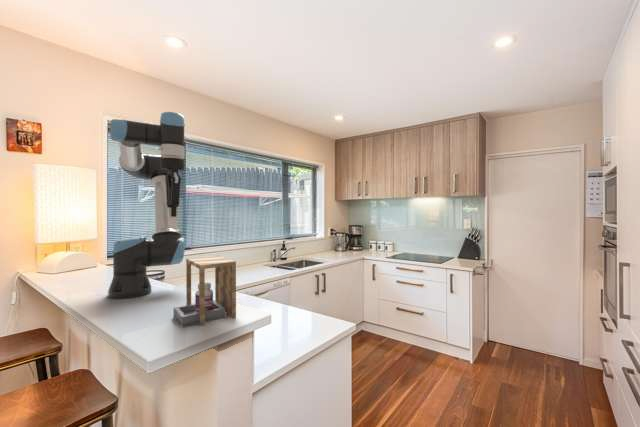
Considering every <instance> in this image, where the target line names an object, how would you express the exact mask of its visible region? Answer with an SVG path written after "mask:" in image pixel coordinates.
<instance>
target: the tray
mask: <svg viewBox="0 0 640 427" xmlns="http://www.w3.org/2000/svg"><path fill="white" fill-rule="evenodd" d="M173 318H174V319H175V320H176V322H177V323H178V324H179V326H180V327H181V328H185V327H189V326H194V325H199V312H198V313H195V303H191V304H190V305H187V304H185V305H181V306H175V307H173ZM225 318H226V312H225V308H224V307H223V306H221V305H220V304H219V303H217V302H216V301H215V299H213V310H208V311H205V323H206V322H211V321H215V320H221V319H225Z"/></svg>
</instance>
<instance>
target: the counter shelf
mask: <svg viewBox="0 0 640 427" xmlns="http://www.w3.org/2000/svg"><path fill="white" fill-rule="evenodd" d="M185 262H186V264H185V266H186V268H185V269H186V271H185V272H186V273H185V274H186V276H185V277H186V281H185V282H186V286H185V287H186V290H185V291H186V294H185V295H186V297H185V298H186V305H190V304H192V266H193V267H195V268H197V269H198V276H199V278H198V280H199V281H198V284H199V289H198V290H199V324H198V325H199V326H200V327H204V326H205V324H206V322H205V283H206V282H205V281H206V279H205V278H206V276H205V274H206V273H205V272H206V271H205V270H206V269H207V270H208V269H215V270H214V271H215V272H214V273H215V274H214V277H215V278H214V279H215V280H214V282H215V283H214V284H215V285H214V287H215V288H214V290H215V292H214V297H215V298H214V301H216V302H217V303H219V304H220V305H221V306H223V307H224V308H225V314H227V315H228V316H229V317H230V318H231V319H236V318H237V269H236V268H237V262H236V261H235V260H232V259H230V258H227V257H224V256H220V255H210V256H209V255H208V256H200V257H189V258H188V257H187V258H186V260H185Z"/></svg>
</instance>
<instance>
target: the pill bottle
mask: <svg viewBox="0 0 640 427" xmlns="http://www.w3.org/2000/svg"><path fill="white" fill-rule="evenodd" d="M211 288H212V284H211V282H205V311H208V310H213V300H214V292H213V289H211ZM194 299H195V300H194V301H195V303H194V304H195V313H198V312H199V283H198V284H197V290H196V291H195V298H194Z"/></svg>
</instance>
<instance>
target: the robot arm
mask: <svg viewBox="0 0 640 427" xmlns="http://www.w3.org/2000/svg"><path fill="white" fill-rule="evenodd" d="M159 123H160V124H156V123H149V122H141V121H140V122H139V121H134V120H127V119H126V120H125V119H119V118H118V119H117V118H116V119H115V118H113V119H111V120H110V123H109V125H110V126H109V131H110V132H109V133H110V134H109V135H110V140H111V141H113V142H118V145H119V150H120V154H119V156H118V157H119V158H118V161H119V162H118V163H119V165H120V167H121V169H122V170H123V171H124V172H125V173H126V174H129V176H132V177H134V178H137V179H140V180H150V184H151V185H153V186H154V209H155V210H154V211H155V212H154V214H155V216H154V217H155V218H154V219H155V232H154V233H153V234H152V235H151V238H149V239H147V236H146V235H140V236H132V237H127V238H122V239H118V240H115V242H113V247H112V248H113V250H112V254H113V255H112V256H113V261H112V263H113V266H112V267H113V268H112V269H113V272H112V273H113V276H112V280H111V283H110V286H109V288H108V290H107V291H108V292H107V294H108V295H107V297H108V298H110V299H130V298H135V297H136V298H137V297H141V296H145V295H147V294H150V293H151V292H152V285H151V281H150V279H149V276H148V274H147V268H149V267H161V266H162V267H163V266H172V265H179V264H181V263H182V262H183V260H184V256H185V249H186V248H185V247H186V238H185V237H182V233H180V232H179V231H178V226H179V225H178V220H179V219H178V210H179V209H178V208H179V206H180V192H181V180H182V173H181V172H182V171H184V170H186V169H185V158H186V156H185V151H186V150H185V125H186V124H185V116H184V115H182V114H180V113H178V112H173V111H164V112H162V113H160V119H159ZM143 145H150V146H151V145H153V146H159V147H158V150H159V151H160V155H153V154H144V153H143Z"/></svg>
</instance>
